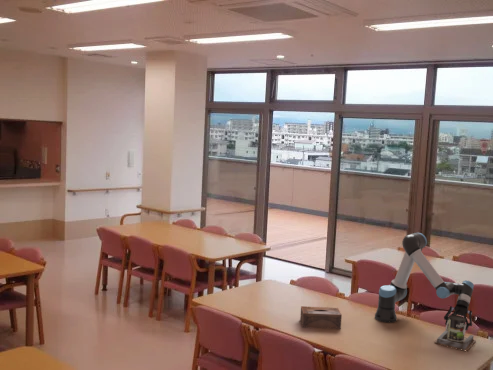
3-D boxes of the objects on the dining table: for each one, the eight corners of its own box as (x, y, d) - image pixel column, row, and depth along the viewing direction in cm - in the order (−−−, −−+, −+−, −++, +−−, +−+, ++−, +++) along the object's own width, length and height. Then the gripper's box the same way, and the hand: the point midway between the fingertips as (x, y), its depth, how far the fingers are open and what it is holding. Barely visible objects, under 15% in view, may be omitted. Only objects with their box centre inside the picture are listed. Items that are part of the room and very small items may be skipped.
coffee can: (467, 341, 344) (469, 320, 343) (453, 342, 342) (455, 320, 340) (457, 335, 354) (458, 314, 353) (443, 336, 351) (445, 315, 350)
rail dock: (434, 343, 345) (434, 338, 344) (444, 333, 363) (444, 328, 362) (467, 351, 333) (467, 346, 333) (475, 341, 351) (475, 336, 351)
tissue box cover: (302, 327, 362) (303, 313, 361) (300, 320, 377) (301, 306, 376) (340, 329, 363) (341, 314, 362) (337, 321, 377) (337, 307, 376)
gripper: (481, 309, 352) (474, 339, 341) (446, 301, 365) (437, 330, 354) (480, 303, 347) (472, 333, 336) (444, 295, 360) (436, 324, 349)
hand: (454, 331), depth 345 cm, fingers closed on coffee can, 10 cm apart
